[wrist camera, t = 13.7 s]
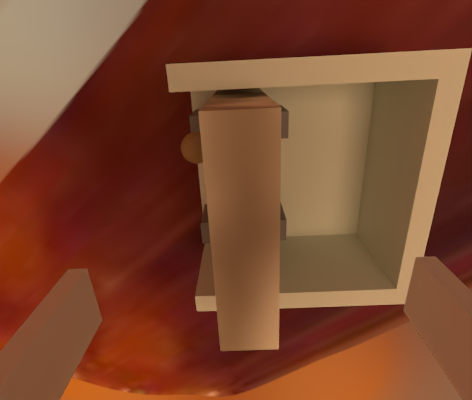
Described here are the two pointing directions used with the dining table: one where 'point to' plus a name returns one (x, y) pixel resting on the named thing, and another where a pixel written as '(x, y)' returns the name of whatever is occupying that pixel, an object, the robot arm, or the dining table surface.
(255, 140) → the door
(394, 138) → the cabinet
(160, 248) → the dining table surface
